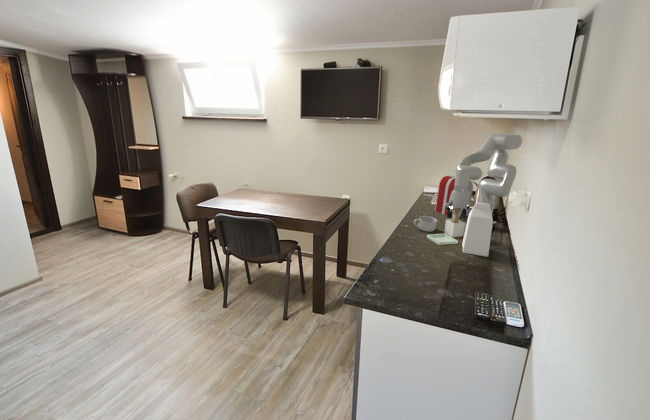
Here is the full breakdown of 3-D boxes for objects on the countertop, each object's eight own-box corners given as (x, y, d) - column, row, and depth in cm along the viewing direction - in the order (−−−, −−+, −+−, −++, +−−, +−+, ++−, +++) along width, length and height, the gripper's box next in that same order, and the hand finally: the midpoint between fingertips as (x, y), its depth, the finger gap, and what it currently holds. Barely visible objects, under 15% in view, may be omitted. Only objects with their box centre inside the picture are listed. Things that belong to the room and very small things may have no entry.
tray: (444, 237, 190) (444, 233, 190) (457, 244, 179) (458, 241, 179) (426, 238, 187) (426, 234, 186) (438, 246, 176) (439, 242, 175)
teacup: (433, 228, 204) (435, 216, 202) (437, 234, 194) (439, 221, 192) (411, 227, 205) (412, 215, 203) (413, 232, 195) (415, 220, 193)
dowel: (454, 233, 195) (458, 207, 190) (458, 235, 192) (462, 209, 187) (449, 233, 194) (453, 207, 189) (452, 235, 191) (457, 209, 186)
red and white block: (451, 209, 251) (456, 174, 243) (469, 215, 236) (475, 179, 228) (434, 210, 244) (439, 175, 237) (451, 217, 229) (457, 180, 221)
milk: (462, 252, 169) (471, 204, 162) (461, 244, 179) (469, 199, 172) (488, 256, 165) (497, 207, 158) (485, 248, 175) (494, 202, 168)
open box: (454, 233, 198) (456, 219, 195) (462, 237, 191) (465, 223, 188) (443, 233, 195) (446, 219, 193) (451, 238, 188) (454, 223, 186)
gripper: (469, 187, 191) (464, 214, 196) (443, 187, 186) (439, 216, 191) (478, 190, 184) (472, 218, 189) (452, 190, 179) (447, 220, 184)
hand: (456, 217), depth 190 cm, fingers open, 9 cm apart
